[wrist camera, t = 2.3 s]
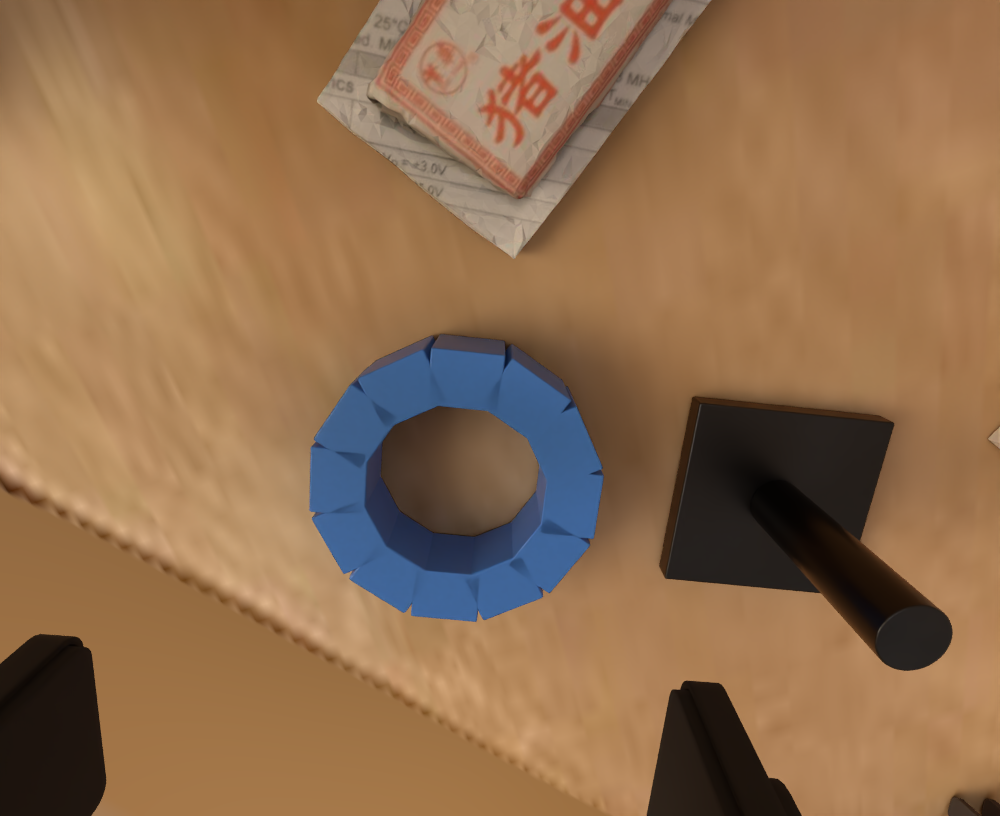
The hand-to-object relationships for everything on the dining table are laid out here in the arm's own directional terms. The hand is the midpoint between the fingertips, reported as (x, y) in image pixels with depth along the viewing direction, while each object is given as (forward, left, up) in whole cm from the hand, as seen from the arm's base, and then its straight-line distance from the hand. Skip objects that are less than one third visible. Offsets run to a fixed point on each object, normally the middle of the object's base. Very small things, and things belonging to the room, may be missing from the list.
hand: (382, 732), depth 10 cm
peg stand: (+15, -3, -20) cm, 25 cm away
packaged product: (+2, +17, -20) cm, 26 cm away
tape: (0, -3, -20) cm, 20 cm away
